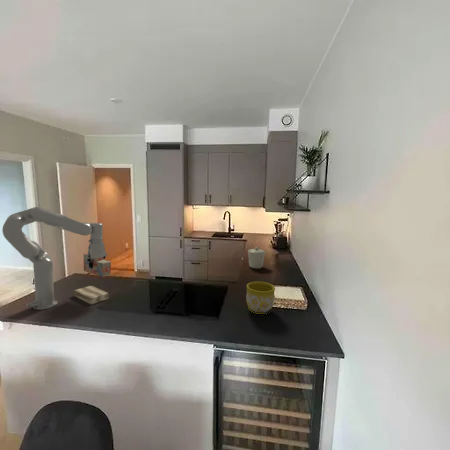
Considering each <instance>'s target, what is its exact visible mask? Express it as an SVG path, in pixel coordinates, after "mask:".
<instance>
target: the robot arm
mask: <svg viewBox="0 0 450 450" xmlns="http://www.w3.org/2000/svg"><path fill="white" fill-rule="evenodd" d="M35 222H37V223H40V224H44V225H47V226H51V227H54V228H57V229H60V230H64V231H67V232H71V233H73V234H77V235H80V236H89V235H90V236H89V237H90V238H89V239H88V248H87V253H88V254H87V255H86V256H85V257H84V256H83V259H84V258H85V259H86V260H87V261H88V262H89V267H90V268H93V262H92V261H93V259H94V258H100V257H103V259H102V260H105V259H106V257H107V255H108V253H107V252H106V248H105V243H104V241H103V239H104V238H103V237H104V236H103V235H104V234H103V233H104V232H103V230H104V228H103V226H104V225H103V223H100V222H81V221H77V220H75V219H72V218H70V217H68V216H66V215H65V214H64V215H63V214H62V213H59V212H58V213H57V212H55V211H51V210H48V209H46V208H43V207H41V206H34V207H30V208H28V209H26V210H22V211H18V212H15V213H12V214H9V216H7V218H6V220H5V222H4V223H3V225H2V235H3V237H4V238H5V240H7V242H8V243H10V245H11V246H12V247H13V248H14V249H15V250H16V251H17V252H18V253H19V254H20V255H21V257H22V258H25V259H28V260H29V261H30V262H31V263H32V266H33V267H32V268H33V278H34V279H33V280H34V293H35V299H33V301H32V302H28V303H26V304H25V305H26V308H28V307H29V308H32V309H34V310H36V311H37V310H42V311H43V310H47V309H51V308H53V307H55V306H57V304H58V300H57V299H55V289H54V284H55V283H54V264H53V260H52V256H50V254H49V253H48V252H47V251H46V250H45V249H44V248H43V247H41V245H39V244H38V243H37V242H36V241H35V240H31V239H30V238H29V237H28V235H26V234H25V233H24V232H23V228H24V227H25V226H27V225H30V224H32V223H35ZM88 257H89V259H88Z"/></svg>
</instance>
